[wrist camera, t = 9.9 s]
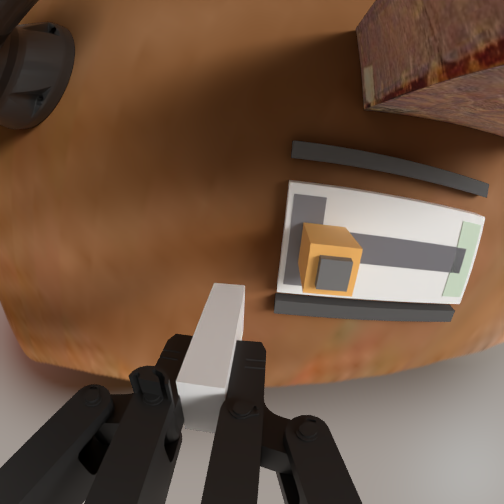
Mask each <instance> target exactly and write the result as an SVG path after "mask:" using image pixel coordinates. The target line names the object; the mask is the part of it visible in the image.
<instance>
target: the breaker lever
mask: <svg viewBox="0 0 504 504" xmlns="http://www.w3.org/2000/svg"><path fill="white" fill-rule="evenodd" d="M362 251H363V249H362V247H361V246H360V245H359V244H358V242H357V241H356V240H355V238H354V237H353V236H352V235H351V234H350V232H349V231H348V230H347V229H346V227H339V226H331V225H322V224H314V223H305V222H304V223H303V230H302V238H301V245H300V252H299V259H298V266H299V272H300V278H301V284H302V291H303V293H313V294H325V295H337V296H350V297H352V294H353V290H354V286H355V282H356V278H357V274H358V269H359V265H360V260H361V256H362Z"/></svg>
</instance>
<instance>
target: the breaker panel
mask: <svg viewBox="0 0 504 504" xmlns="http://www.w3.org/2000/svg"><path fill="white" fill-rule="evenodd" d="M484 221H485V217H484V216H481V215H479V214H477V213H474V212H470V211H466V210H462V209H458V208H454V207H449V206H445V205H440V204H436V203H431V202H427V201H422V200H417V199H412V198H407V197H402V196H396V195H391V194H385V193H380V192H374V191H368V190H362V189H355V188H349V187H342V186H335V185H328V184H320V183H312V182H304V181H295V180H289V184H288V193H287V203H286V212H285V221H284V230H283V239H282V247H281V256H280V264H279V272H278V280H277V292H282V293H293V294H304V295H315V296H327V297H340V298H353V299H368V300H383V301H400V302H420V303H444V304H460V302H461V299H462V296H463V294H464V291H465V288H466V285H467V282H468V279H469V276H470V273H471V270H472V267H473V263H474V260H475V257H476V253H477V249H478V246H479V242H480V238H481V234H482V230H483V225H484ZM304 222H305V223H314V224H322V225H331V226H339V227H346V229H347V230H348V231H349V232H350V234H351V235H352V236H353V237H354V238H355V240H356V241H357V242H358V244H359V245H360V246H361V247H362V249H363V251H362V256H361V260H360V265H359V269H358V274H357V278H356V282H355V286H354V290H353V294H352V297H350V296H337V295H325V294H313V293H303V291H302V284H301V278H300V272H299V266H298V259H299V252H300V245H301V238H302V230H303V223H304Z"/></svg>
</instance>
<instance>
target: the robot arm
mask: <svg viewBox="0 0 504 504" xmlns="http://www.w3.org/2000/svg"><path fill="white" fill-rule="evenodd" d="M37 2H38V0H0V125H2V126H4V127H7V128H10V129H28V128H32V127H34V126H36V125H38V124H39V123H41V122H42V121H43V120H44V119H45V118H46V117H47V116H48V115H49V114H50V113H51V112H52V110H53V109H54V108H55V106H56V105H57V103H58V102H59V100H60V98H61V97H62V95H63V93H64V91H65V88H66V86H67V84H68V81H69V78H70V75H71V72H72V68H73V63H74V56H75V46H74V40H73V37H72V35H71V33H70V32H69V30H68V29H66V28H65V27H63V26H60V25H58V24H55V23H51V22H41V23H31V24H23V25H18V23H19V22H20V21H21V20H22V18H23V17H24V16H25V15H26V14H27V13H28V12H29V10H30V9H31V8H32V7H33V6H34V5H35V4H36V3H37ZM244 299H245V285H233V284H221V283H214V285H213V287H212V290H211V292H210V295H209V297H208V300H207V302H206V305H205V307H204V310H203V312H202V315H201V317H200V320H199V322H198V325H197V328H196V330H195V333H194V335H193V336H188V335H181V334H175V335H174V336H173V337H171V338H170V339H169V340H168V341H167V343H166V345H165V347H164V349H163V351H162V353H161V355H160V358H159V359H158V361H157V363H156V365H155V366H143V367H139V368H137V369H136V370H134V371H132V373H131V374H130V375H129V379H130V382H131V385H132V388H133V391H134V393H132V394H121V395H120V394H116V395H115V394H114V395H112V394H110V393H109V391H108V390H107V389H106V388H105V387H104V386H101V385H88V386H85V387H83V388H82V389H80V390H79V391H78V392H77V393H76V394H75V395H74V396H73V397H72V398H71V399H70V400H69V401H68V402H66V403H65V405H64V406H62V408H60V409H59V410H58V411H57V412H56V413H55V414H54V415H53V416H52V417H51V418H50V419H49V420H48V421H47V422H46V423H45V424H44V425H43V426H42V427H41V428H40V429H39V430H38V431H37V432H36V433H35V434H34V435H33V436H32V437H31V438H30V439H29V440H28V441H27V442H26V443H25V444H24V445H23V446H22V447H21V448H20V449H19V450H18V451H17V452H16V453H15V454H14V455H13V456H12V457H11V458H10V459H9V460H8V461H7V462H6V463H5V464H4V465H3V466H2V467H1V468H0V504H82V503H83V502H84V501H85V503H84V504H165V501H166V498H167V494H168V490H169V486H170V483H171V479H172V475H173V472H174V468H175V465H176V460H177V457H178V454H179V450H180V446H181V443H182V433H181V429H182V427H183V423H184V425H185V429H190V430H196V431H203V432H209V433H215V436H214V441H213V447H212V451H211V456H210V461H209V466H208V471H207V477H206V481H205V486H204V491H203V496H202V501H201V504H257V496H258V484H259V472H260V466H261V467H264V468H267V469H270V470H273V471H276V474H277V478H278V481H279V485H280V488H281V492H282V496H283V499H284V503H285V504H362V502H361V500H360V497H359V495H358V493H357V491H356V488H355V486H354V484H353V482H352V479H351V477H350V475H349V473H348V470H347V468H346V466H345V464H344V461H343V459H342V457H341V455H340V452H339V450H338V448H337V446H336V443H335V441H334V439H333V437H332V434H331V432H330V430H329V428H328V426H327V425H326V423H325V422H324V421H323V420H321V419H320V418H318V417H315V416H311V415H301V416H298V417H295V418H293V419H292V420H290V419H287V418H283V417H280V416H278V415H276V414H274V413H272V412H271V411H270V410H269V409H268V408H267V407H266V405H265V403H264V383H265V364H266V350H265V348H264V346H263V344H262V342H253V341H242V335H243V322H244Z"/></svg>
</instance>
